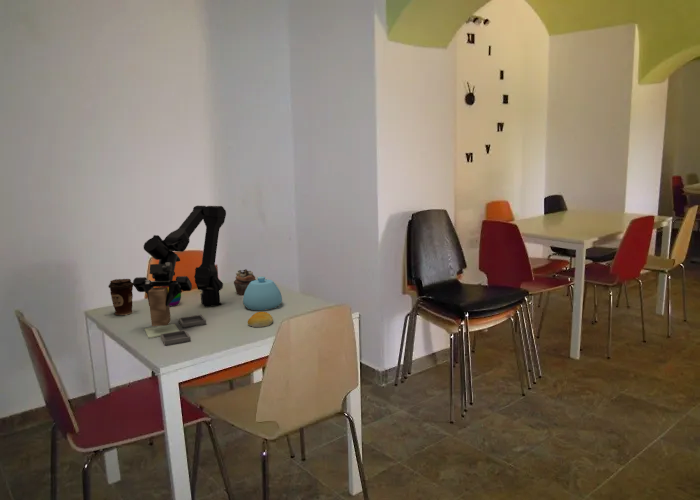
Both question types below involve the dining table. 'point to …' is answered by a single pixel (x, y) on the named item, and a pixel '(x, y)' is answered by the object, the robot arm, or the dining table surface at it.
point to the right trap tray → (192, 321)
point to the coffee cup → (121, 296)
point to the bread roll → (260, 319)
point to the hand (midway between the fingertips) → (158, 305)
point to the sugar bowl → (262, 295)
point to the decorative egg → (175, 299)
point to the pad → (160, 330)
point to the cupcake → (243, 281)
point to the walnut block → (159, 306)
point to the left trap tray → (175, 337)
